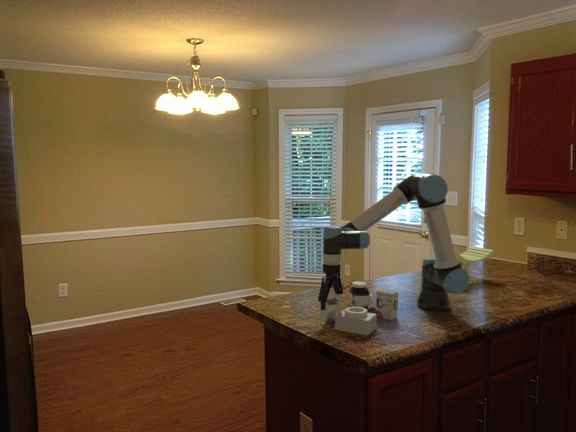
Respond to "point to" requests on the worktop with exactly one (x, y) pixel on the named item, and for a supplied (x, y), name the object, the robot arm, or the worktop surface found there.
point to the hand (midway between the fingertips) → (330, 313)
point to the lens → (331, 310)
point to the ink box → (386, 304)
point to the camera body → (355, 321)
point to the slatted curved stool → (474, 259)
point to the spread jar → (360, 295)
